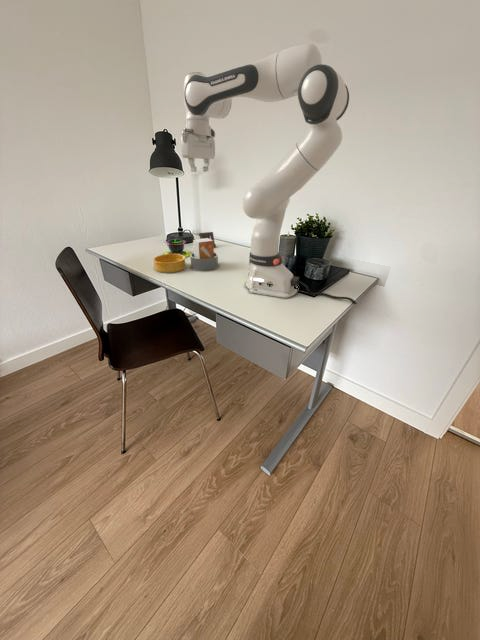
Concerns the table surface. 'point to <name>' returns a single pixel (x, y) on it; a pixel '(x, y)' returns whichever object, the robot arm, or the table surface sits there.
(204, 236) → the tablet stand
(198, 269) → the pot
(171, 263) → the bowl
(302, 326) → the table surface
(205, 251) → the small box
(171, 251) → the toy cauldron
